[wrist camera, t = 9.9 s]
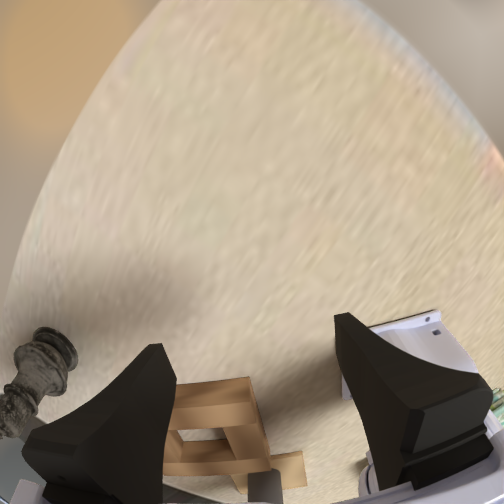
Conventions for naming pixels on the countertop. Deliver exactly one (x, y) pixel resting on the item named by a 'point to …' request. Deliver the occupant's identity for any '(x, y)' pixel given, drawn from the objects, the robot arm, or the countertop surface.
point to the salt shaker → (36, 378)
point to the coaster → (288, 467)
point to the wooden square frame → (212, 416)
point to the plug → (265, 487)
